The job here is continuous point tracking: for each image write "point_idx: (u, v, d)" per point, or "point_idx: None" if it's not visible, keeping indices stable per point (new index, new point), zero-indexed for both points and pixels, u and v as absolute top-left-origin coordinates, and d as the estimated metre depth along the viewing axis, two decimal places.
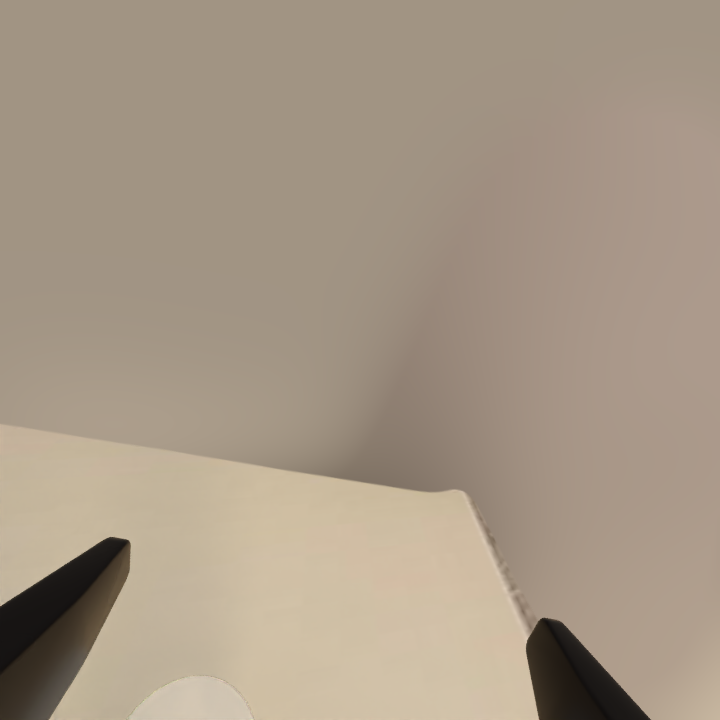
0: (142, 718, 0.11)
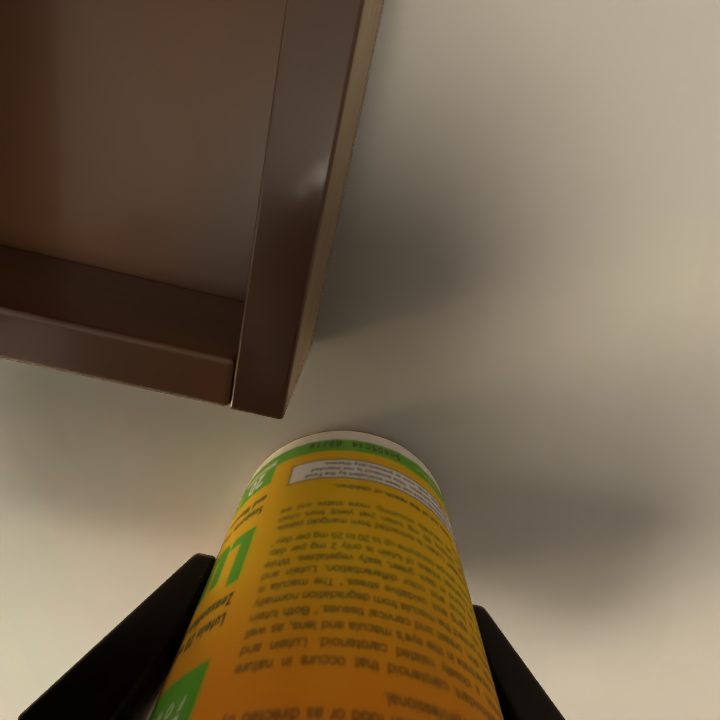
0: None
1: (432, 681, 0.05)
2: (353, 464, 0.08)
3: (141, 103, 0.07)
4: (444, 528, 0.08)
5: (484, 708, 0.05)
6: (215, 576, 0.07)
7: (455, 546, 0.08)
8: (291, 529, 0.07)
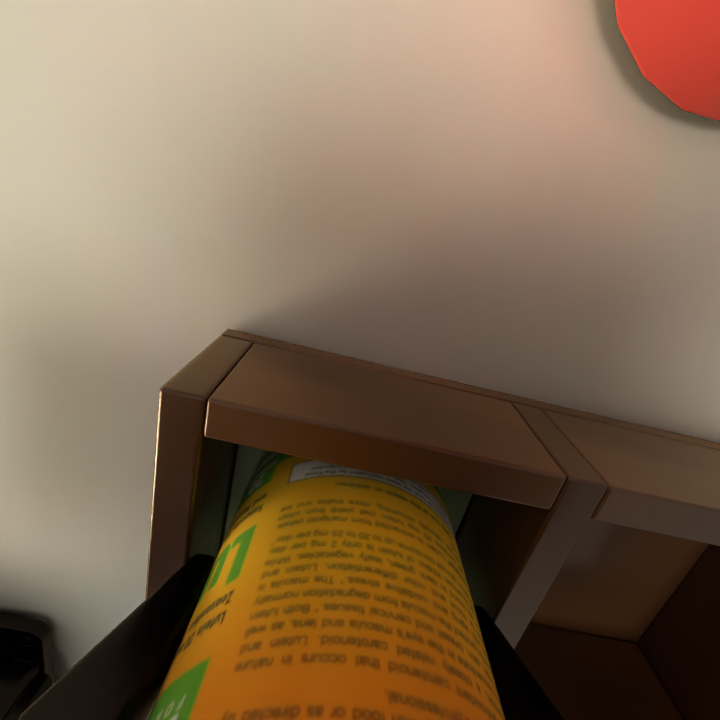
0: None
1: (434, 679, 0.05)
2: None
3: (595, 556, 0.12)
4: (445, 526, 0.08)
5: (485, 706, 0.05)
6: (215, 574, 0.07)
7: (456, 545, 0.08)
8: (291, 527, 0.07)
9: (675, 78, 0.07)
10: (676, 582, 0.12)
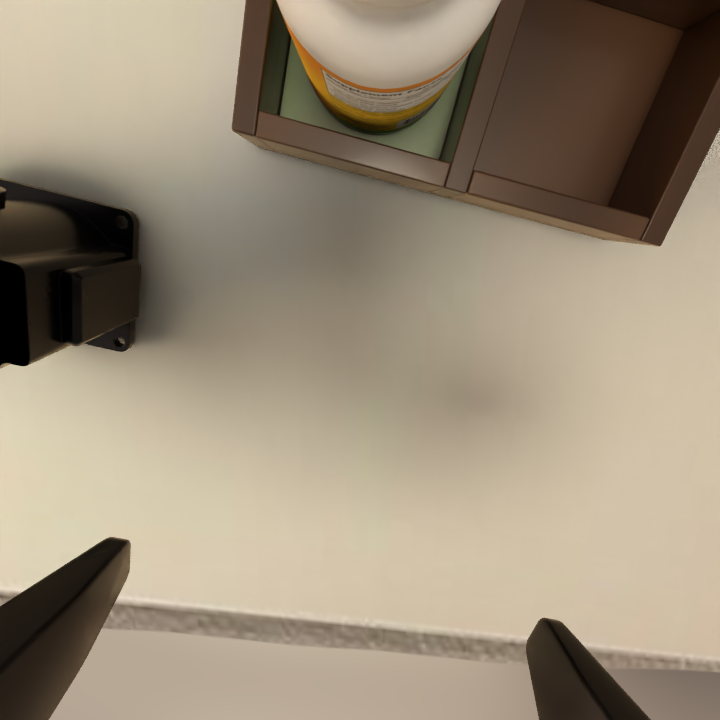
0: None
1: None
2: None
3: (567, 113, 0.15)
4: None
5: None
6: None
7: None
8: None
9: None
10: (630, 143, 0.15)
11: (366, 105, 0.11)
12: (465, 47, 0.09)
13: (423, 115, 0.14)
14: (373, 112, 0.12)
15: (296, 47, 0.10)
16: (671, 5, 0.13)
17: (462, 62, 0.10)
